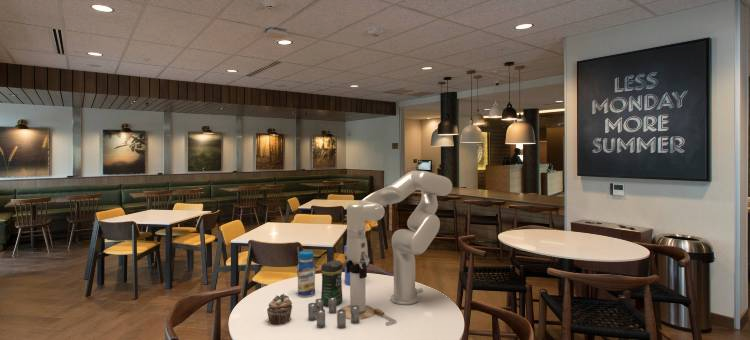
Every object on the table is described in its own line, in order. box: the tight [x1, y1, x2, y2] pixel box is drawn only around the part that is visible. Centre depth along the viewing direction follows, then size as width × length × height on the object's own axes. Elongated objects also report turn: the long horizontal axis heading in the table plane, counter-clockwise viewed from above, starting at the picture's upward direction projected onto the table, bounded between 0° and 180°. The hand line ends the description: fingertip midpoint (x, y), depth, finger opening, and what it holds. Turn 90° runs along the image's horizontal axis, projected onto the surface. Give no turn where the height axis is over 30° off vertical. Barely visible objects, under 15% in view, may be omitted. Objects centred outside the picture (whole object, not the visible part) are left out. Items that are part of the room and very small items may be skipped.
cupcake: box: [266, 293, 293, 326], centre depth 156 cm, size 10×10×10 cm
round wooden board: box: [339, 304, 375, 320], centre depth 165 cm, size 15×15×1 cm
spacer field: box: [307, 297, 360, 330], centre depth 157 cm, size 16×19×6 cm
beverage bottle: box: [296, 250, 316, 298], centre depth 186 cm, size 8×8×20 cm
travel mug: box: [349, 263, 367, 314], centre depth 164 cm, size 6×7×20 cm
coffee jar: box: [320, 259, 343, 307], centre depth 175 cm, size 10×8×19 cm
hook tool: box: [373, 308, 397, 326], centre depth 158 cm, size 13×5×2 cm, turn 36°
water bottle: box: [343, 244, 362, 287], centre depth 203 cm, size 9×9×25 cm
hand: (356, 275), depth 164 cm, fingers open, 9 cm apart
